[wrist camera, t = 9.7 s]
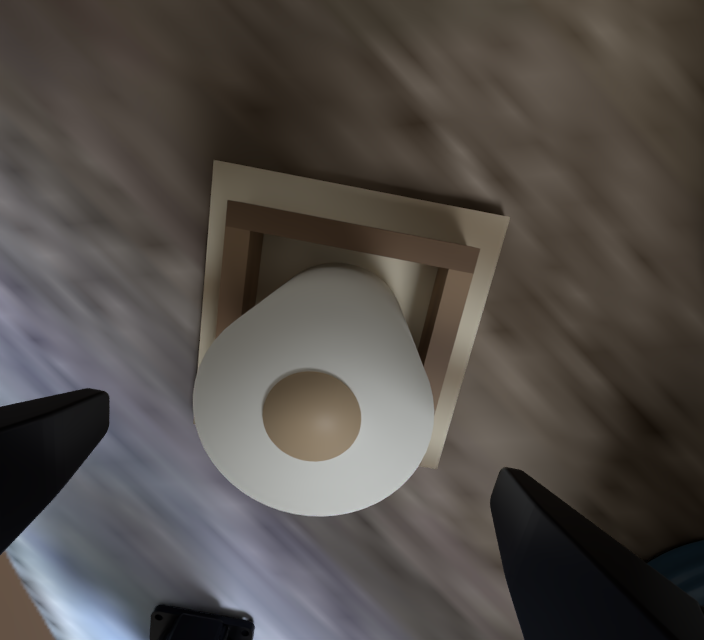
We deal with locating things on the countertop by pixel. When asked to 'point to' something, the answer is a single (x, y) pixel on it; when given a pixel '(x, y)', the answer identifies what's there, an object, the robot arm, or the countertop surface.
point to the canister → (684, 568)
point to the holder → (354, 261)
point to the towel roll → (316, 395)
